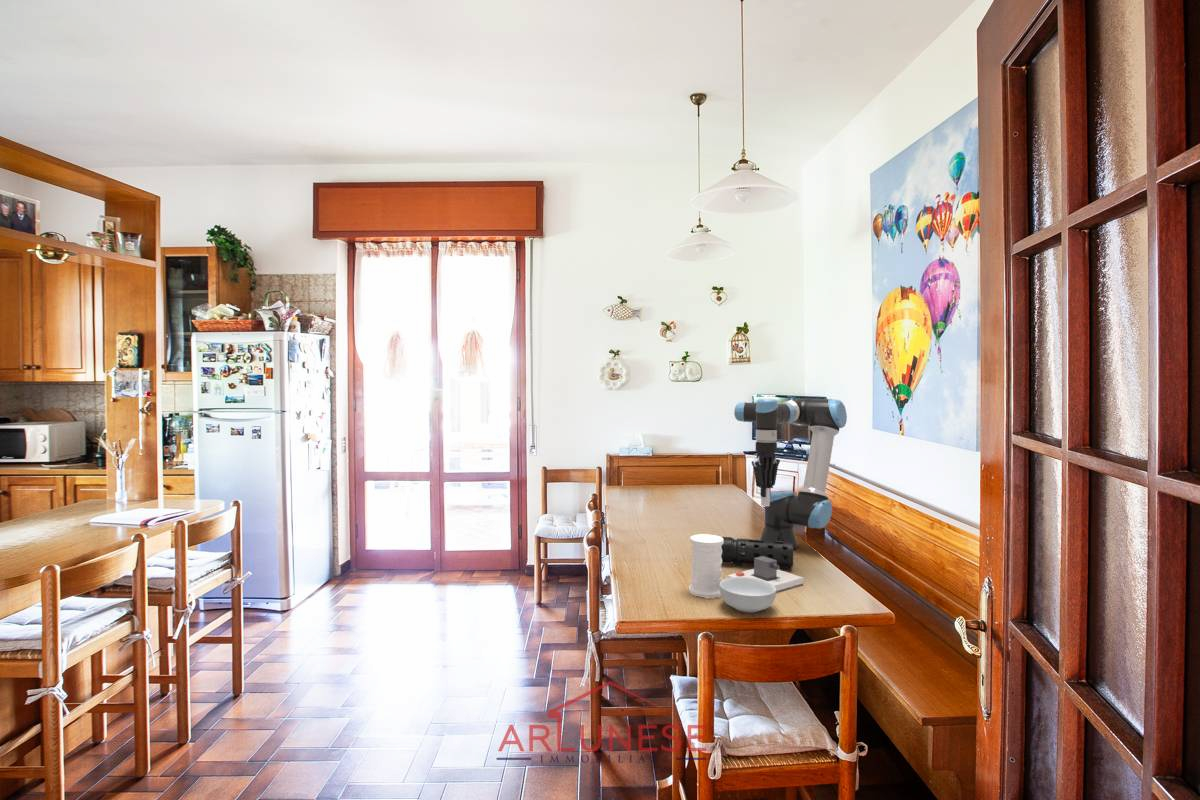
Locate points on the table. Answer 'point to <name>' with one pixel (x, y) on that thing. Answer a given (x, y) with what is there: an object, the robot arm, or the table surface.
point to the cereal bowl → (747, 593)
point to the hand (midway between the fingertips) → (765, 505)
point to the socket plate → (781, 581)
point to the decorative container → (706, 565)
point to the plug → (765, 568)
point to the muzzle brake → (756, 551)
